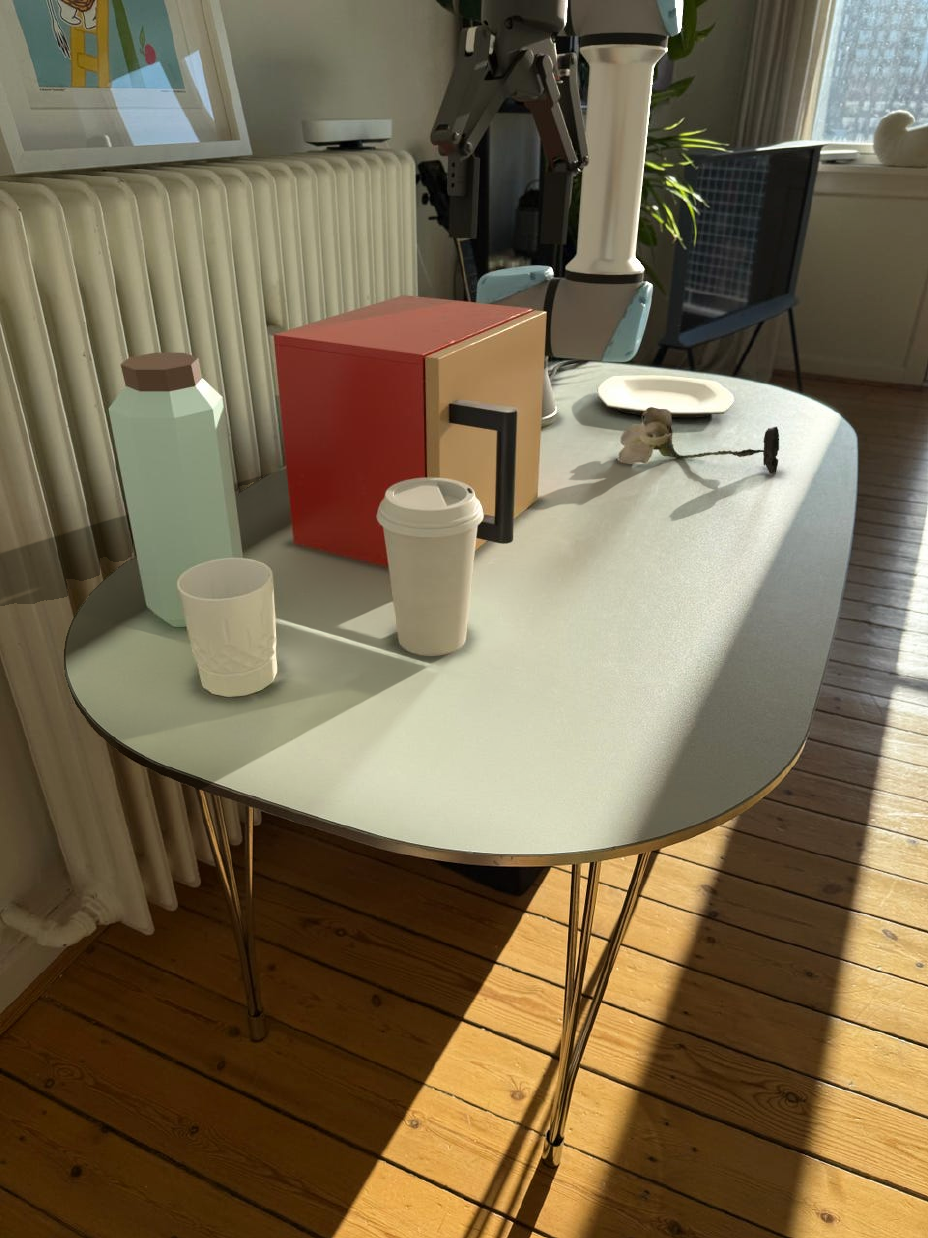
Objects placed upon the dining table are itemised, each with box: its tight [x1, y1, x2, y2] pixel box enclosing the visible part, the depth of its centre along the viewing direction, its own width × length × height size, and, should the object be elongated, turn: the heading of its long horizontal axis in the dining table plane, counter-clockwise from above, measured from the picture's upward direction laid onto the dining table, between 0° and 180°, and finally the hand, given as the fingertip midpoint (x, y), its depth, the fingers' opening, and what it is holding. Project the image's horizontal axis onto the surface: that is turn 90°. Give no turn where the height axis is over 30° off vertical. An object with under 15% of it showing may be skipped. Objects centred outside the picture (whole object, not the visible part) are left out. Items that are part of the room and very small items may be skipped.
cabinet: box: [272, 294, 533, 568], centre depth 106 cm, size 18×26×24 cm
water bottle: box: [108, 352, 244, 628], centre depth 86 cm, size 10×10×25 cm
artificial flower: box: [616, 407, 780, 475], centre depth 128 cm, size 9×22×10 cm, turn 67°
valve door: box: [425, 310, 547, 552], centre depth 100 cm, size 8×26×24 cm, turn 152°
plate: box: [596, 375, 735, 419], centre depth 156 cm, size 23×23×2 cm
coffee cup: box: [377, 477, 484, 657], centre depth 83 cm, size 10×10×15 cm
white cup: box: [177, 557, 278, 698], centre depth 78 cm, size 8×8×10 cm
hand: (510, 241), depth 86 cm, fingers open, 13 cm apart
